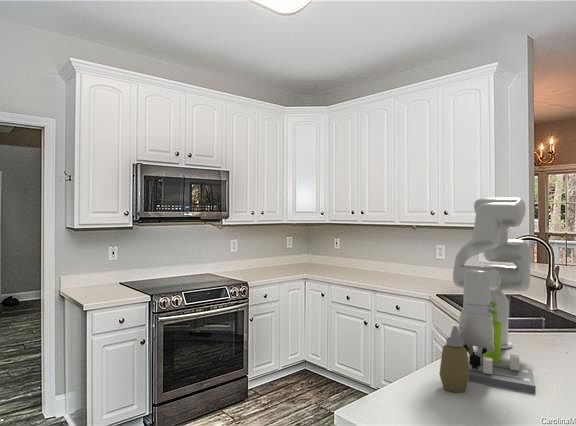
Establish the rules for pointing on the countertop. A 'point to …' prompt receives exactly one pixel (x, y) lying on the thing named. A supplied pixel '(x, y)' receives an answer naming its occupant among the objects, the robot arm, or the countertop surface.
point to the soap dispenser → (495, 337)
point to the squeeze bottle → (454, 363)
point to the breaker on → (514, 362)
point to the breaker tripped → (487, 365)
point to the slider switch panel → (504, 377)
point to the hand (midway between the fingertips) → (475, 367)
